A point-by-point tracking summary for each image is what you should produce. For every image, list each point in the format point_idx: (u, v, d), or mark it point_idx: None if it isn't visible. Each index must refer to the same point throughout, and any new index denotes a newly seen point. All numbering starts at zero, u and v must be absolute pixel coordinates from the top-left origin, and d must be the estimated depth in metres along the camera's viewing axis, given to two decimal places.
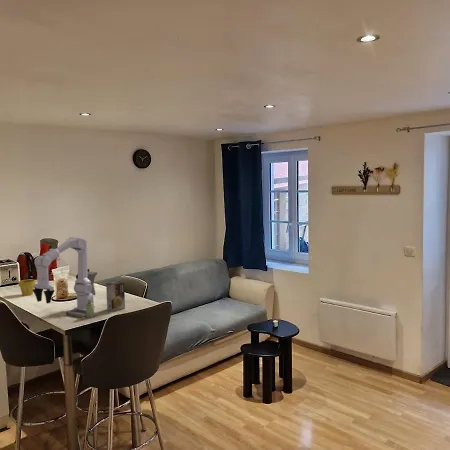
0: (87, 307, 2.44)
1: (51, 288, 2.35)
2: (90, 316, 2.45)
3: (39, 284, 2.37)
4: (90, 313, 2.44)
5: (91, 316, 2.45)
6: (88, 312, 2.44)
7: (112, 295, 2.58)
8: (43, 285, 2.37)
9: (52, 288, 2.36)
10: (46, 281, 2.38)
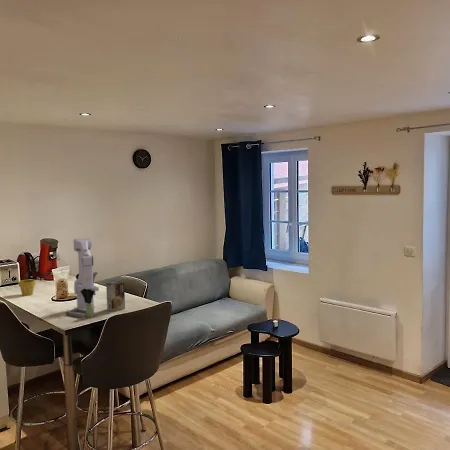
0: (87, 307, 2.44)
1: (96, 288, 2.32)
2: (90, 316, 2.45)
3: (84, 284, 2.33)
4: (90, 313, 2.44)
5: (91, 316, 2.45)
6: (88, 312, 2.44)
7: (112, 295, 2.58)
8: (88, 285, 2.33)
9: (97, 288, 2.33)
10: (91, 281, 2.34)
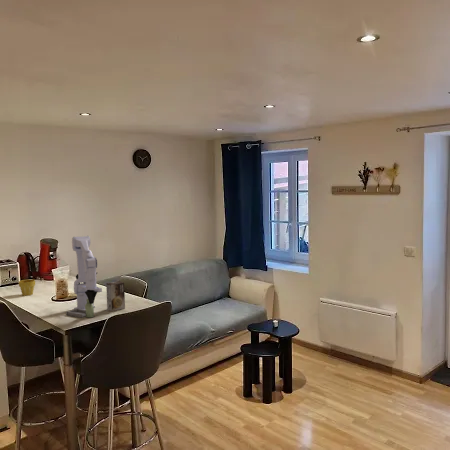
0: (86, 306, 2.44)
1: (100, 289, 2.41)
2: (90, 315, 2.45)
3: (88, 286, 2.42)
4: (90, 312, 2.45)
5: (91, 315, 2.45)
6: (88, 312, 2.44)
7: (112, 295, 2.58)
8: (91, 287, 2.42)
9: (100, 289, 2.41)
10: (94, 283, 2.43)
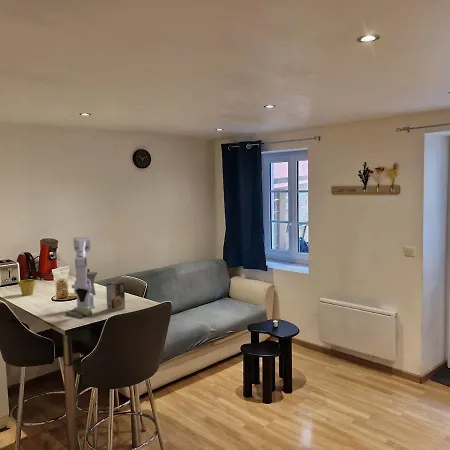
0: (78, 310, 2.48)
1: (90, 288, 2.44)
2: (85, 308, 2.46)
3: (78, 284, 2.46)
4: (83, 308, 2.47)
5: (86, 308, 2.47)
6: (81, 309, 2.47)
7: (112, 295, 2.58)
8: (82, 285, 2.46)
9: (91, 288, 2.45)
10: (85, 281, 2.47)
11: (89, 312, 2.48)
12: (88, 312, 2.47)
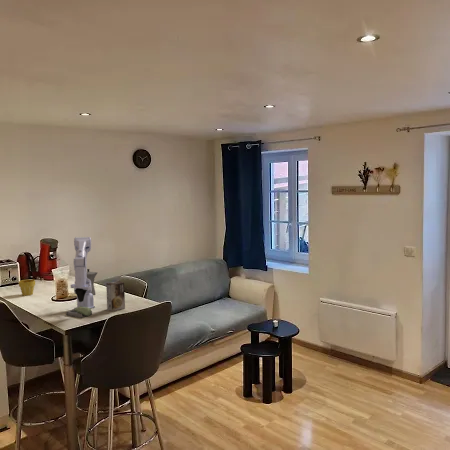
0: (78, 310, 2.48)
1: (89, 288, 2.45)
2: (85, 308, 2.47)
3: (77, 284, 2.46)
4: (83, 308, 2.47)
5: (86, 308, 2.47)
6: (82, 309, 2.47)
7: (112, 295, 2.58)
8: (81, 285, 2.46)
9: (89, 288, 2.45)
10: (83, 281, 2.47)
11: (89, 312, 2.48)
12: (88, 312, 2.47)
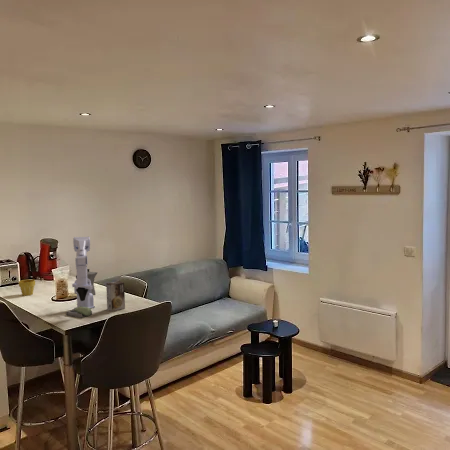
0: (78, 310, 2.48)
1: (90, 287, 2.44)
2: (85, 308, 2.47)
3: (78, 283, 2.45)
4: (83, 308, 2.47)
5: (86, 308, 2.47)
6: (82, 309, 2.47)
7: (112, 295, 2.58)
8: (82, 284, 2.45)
9: (91, 287, 2.45)
10: (85, 280, 2.46)
11: (89, 312, 2.48)
12: (88, 312, 2.47)
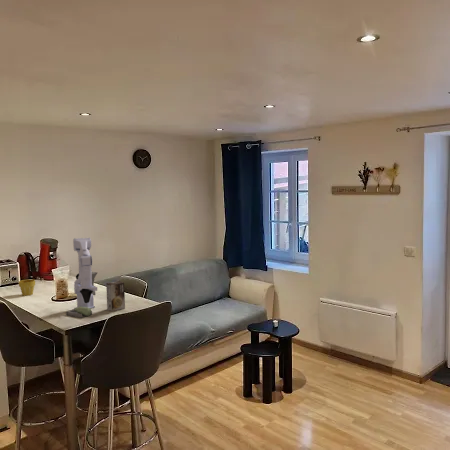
0: (78, 310, 2.48)
1: (95, 288, 2.33)
2: (85, 308, 2.47)
3: (83, 284, 2.34)
4: (83, 308, 2.47)
5: (86, 308, 2.47)
6: (82, 309, 2.47)
7: (112, 295, 2.58)
8: (87, 285, 2.34)
9: (96, 288, 2.33)
10: (89, 281, 2.35)
11: (89, 312, 2.48)
12: (88, 312, 2.47)
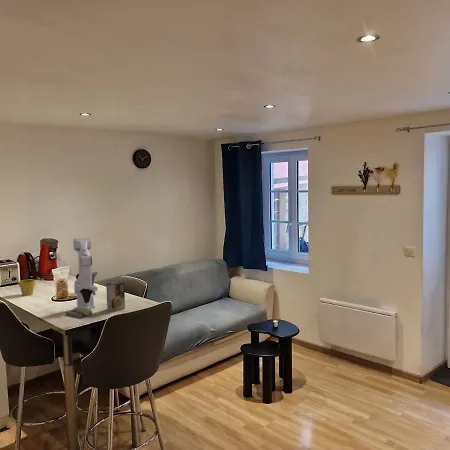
0: (78, 310, 2.48)
1: (95, 288, 2.33)
2: (85, 308, 2.47)
3: (83, 284, 2.34)
4: (83, 308, 2.47)
5: (86, 308, 2.47)
6: (82, 309, 2.47)
7: (112, 295, 2.58)
8: (87, 285, 2.34)
9: (96, 288, 2.33)
10: (89, 281, 2.35)
11: (89, 312, 2.48)
12: (88, 312, 2.47)
